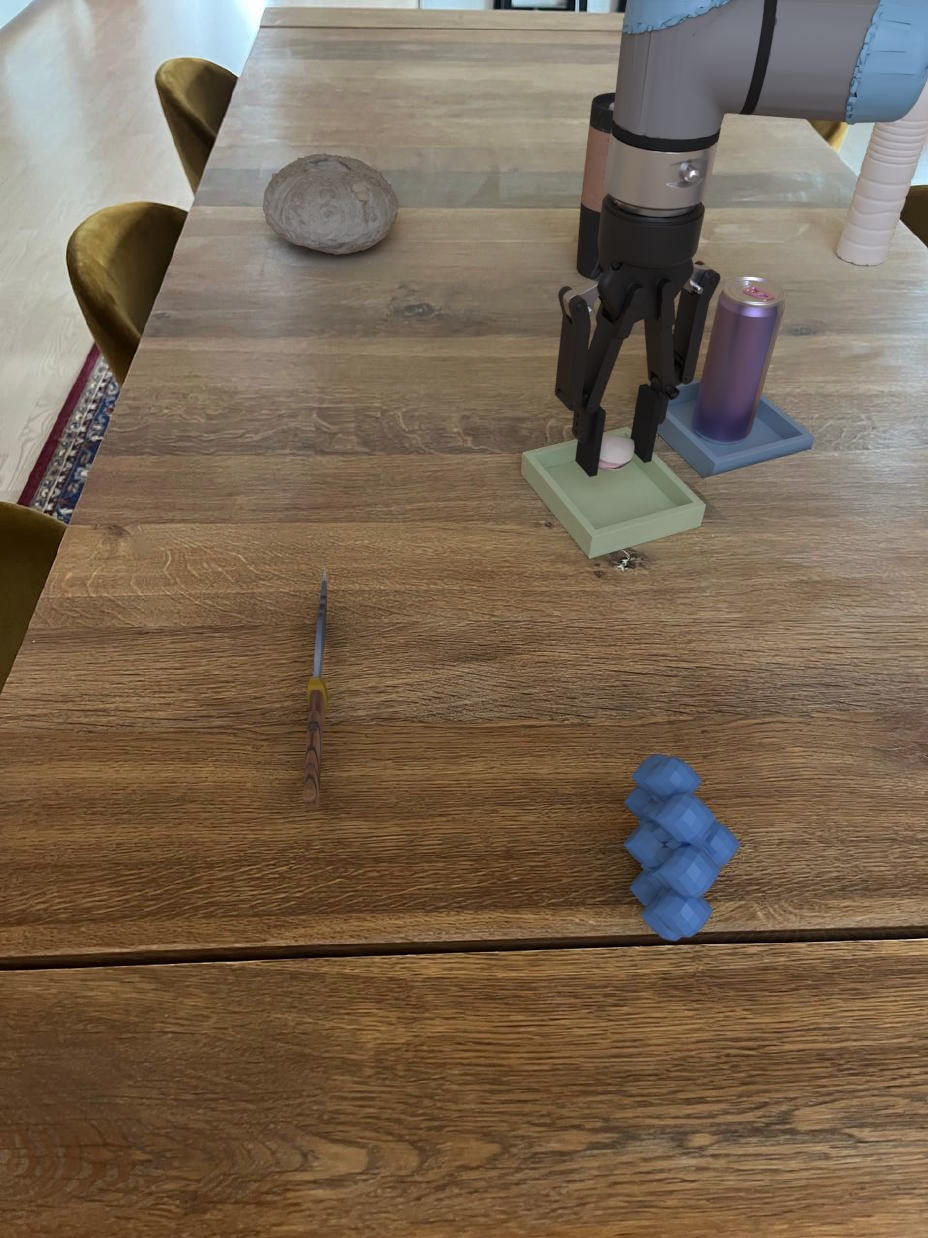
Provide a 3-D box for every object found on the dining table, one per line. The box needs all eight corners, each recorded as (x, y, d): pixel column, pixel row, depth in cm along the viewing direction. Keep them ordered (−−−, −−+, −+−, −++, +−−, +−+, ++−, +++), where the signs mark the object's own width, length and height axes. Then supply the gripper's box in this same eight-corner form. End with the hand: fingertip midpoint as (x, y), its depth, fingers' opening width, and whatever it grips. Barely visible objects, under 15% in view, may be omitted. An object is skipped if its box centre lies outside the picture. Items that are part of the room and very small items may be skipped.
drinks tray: (808, 457, 93) (815, 436, 92) (710, 484, 90) (715, 463, 88) (728, 390, 102) (733, 369, 100) (636, 412, 99) (639, 391, 97)
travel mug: (563, 263, 124) (578, 96, 110) (611, 252, 127) (632, 88, 113) (594, 287, 119) (615, 115, 105) (644, 275, 122) (670, 106, 108)
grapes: (741, 986, 55) (795, 881, 47) (626, 987, 55) (660, 883, 47) (701, 816, 63) (740, 701, 55) (601, 817, 63) (626, 702, 55)
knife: (319, 586, 79) (313, 541, 75) (336, 586, 79) (331, 540, 76) (304, 843, 62) (296, 799, 58) (326, 841, 62) (318, 797, 58)
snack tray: (700, 526, 85) (706, 504, 84) (589, 559, 82) (592, 537, 80) (624, 447, 94) (627, 425, 92) (520, 473, 91) (522, 451, 89)
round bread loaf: (422, 230, 131) (420, 154, 124) (359, 281, 119) (354, 201, 112) (311, 207, 136) (304, 132, 129) (241, 254, 124) (229, 175, 117)
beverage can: (721, 453, 93) (757, 311, 82) (678, 426, 96) (707, 285, 86) (762, 434, 95) (802, 293, 85) (718, 408, 99) (752, 269, 88)
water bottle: (837, 242, 130) (898, 35, 112) (886, 250, 128) (956, 41, 111) (832, 268, 124) (896, 54, 106) (884, 276, 123) (957, 60, 105)
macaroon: (575, 460, 85) (578, 437, 84) (613, 441, 88) (617, 417, 86) (609, 483, 83) (613, 459, 81) (648, 462, 85) (652, 439, 84)
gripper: (570, 235, 64) (543, 508, 80) (786, 198, 69) (719, 461, 85) (521, 195, 68) (505, 460, 85) (727, 163, 74) (674, 419, 90)
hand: (613, 460), depth 85 cm, fingers closed on macaroon, 5 cm apart
